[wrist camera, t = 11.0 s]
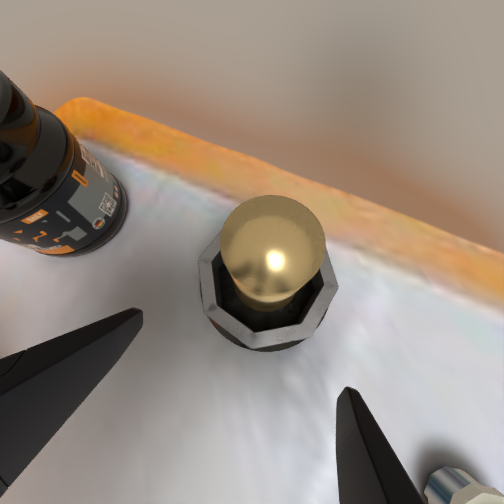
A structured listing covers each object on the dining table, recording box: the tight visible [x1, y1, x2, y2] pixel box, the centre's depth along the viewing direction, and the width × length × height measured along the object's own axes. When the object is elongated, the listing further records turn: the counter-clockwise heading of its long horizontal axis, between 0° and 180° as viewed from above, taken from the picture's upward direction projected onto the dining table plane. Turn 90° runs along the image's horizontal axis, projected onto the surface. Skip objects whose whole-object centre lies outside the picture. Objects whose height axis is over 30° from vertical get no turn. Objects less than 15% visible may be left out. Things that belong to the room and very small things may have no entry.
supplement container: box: [0, 70, 127, 257], centre depth 18 cm, size 10×10×12 cm
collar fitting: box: [198, 230, 339, 352], centre depth 19 cm, size 12×12×4 cm
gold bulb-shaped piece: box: [220, 195, 326, 313], centre depth 15 cm, size 6×6×10 cm
